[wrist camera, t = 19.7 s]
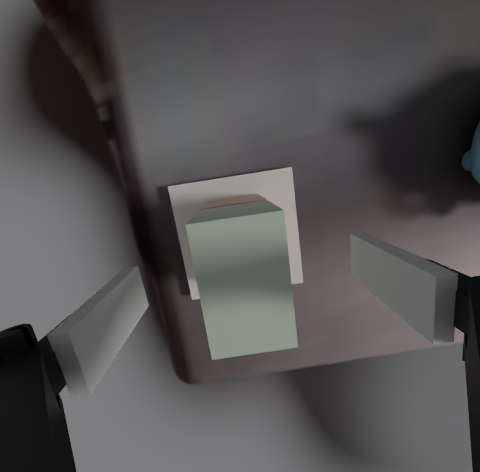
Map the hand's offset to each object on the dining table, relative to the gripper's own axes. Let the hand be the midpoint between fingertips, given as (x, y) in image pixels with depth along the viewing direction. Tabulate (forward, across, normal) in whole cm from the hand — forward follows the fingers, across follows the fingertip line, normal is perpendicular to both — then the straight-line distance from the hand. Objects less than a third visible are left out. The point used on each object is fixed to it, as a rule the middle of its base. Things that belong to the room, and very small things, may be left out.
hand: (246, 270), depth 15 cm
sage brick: (+4, 0, 0) cm, 4 cm away
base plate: (+11, 0, 0) cm, 11 cm away
